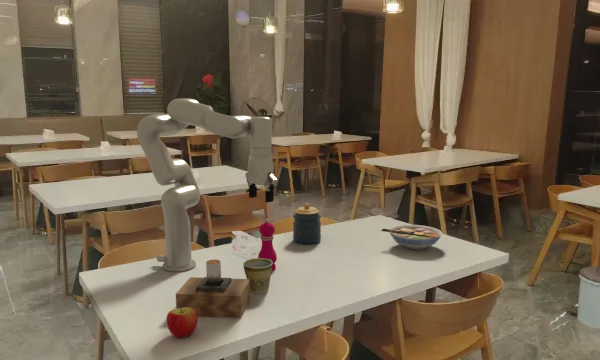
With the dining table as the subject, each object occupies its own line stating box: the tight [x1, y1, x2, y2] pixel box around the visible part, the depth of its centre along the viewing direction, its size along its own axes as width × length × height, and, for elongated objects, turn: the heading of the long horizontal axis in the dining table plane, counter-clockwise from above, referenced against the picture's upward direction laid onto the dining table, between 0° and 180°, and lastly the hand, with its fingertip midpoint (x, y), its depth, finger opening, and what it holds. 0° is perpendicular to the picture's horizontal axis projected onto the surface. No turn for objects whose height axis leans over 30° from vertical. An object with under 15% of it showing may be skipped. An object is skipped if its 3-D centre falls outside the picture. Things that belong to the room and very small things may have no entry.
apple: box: [166, 304, 199, 339], centre depth 138 cm, size 8×8×10 cm
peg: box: [205, 259, 222, 286], centre depth 155 cm, size 4×4×8 cm
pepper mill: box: [257, 218, 278, 272], centre depth 190 cm, size 7×7×20 cm
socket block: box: [175, 276, 251, 319], centre depth 156 cm, size 20×14×8 cm
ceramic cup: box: [242, 257, 273, 295], centre depth 171 cm, size 13×10×10 cm
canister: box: [292, 203, 322, 245], centre depth 227 cm, size 13×13×18 cm
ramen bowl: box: [380, 224, 443, 251], centre depth 217 cm, size 25×23×8 cm
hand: (261, 199), depth 178 cm, fingers open, 9 cm apart
